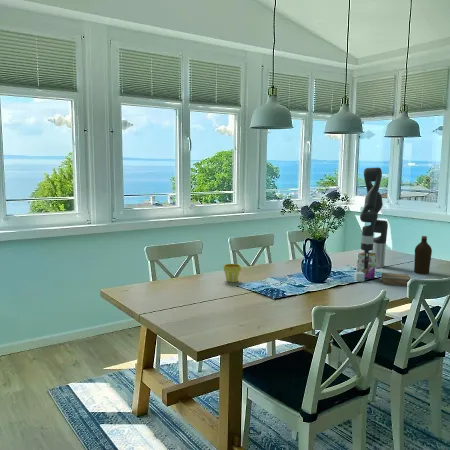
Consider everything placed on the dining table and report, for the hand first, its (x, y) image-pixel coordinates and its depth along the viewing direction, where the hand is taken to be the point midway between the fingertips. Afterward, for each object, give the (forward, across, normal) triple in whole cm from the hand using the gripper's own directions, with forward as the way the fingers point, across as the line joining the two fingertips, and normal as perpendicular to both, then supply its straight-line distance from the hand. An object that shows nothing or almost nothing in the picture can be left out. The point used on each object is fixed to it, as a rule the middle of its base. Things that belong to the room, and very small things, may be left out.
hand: (365, 267), depth 300 cm
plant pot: (+7, +35, -80) cm, 88 cm away
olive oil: (+7, -26, +38) cm, 47 cm away
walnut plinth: (+7, +7, +18) cm, 20 cm away
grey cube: (+7, +9, -4) cm, 12 cm away
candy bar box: (+7, 0, 0) cm, 7 cm away
